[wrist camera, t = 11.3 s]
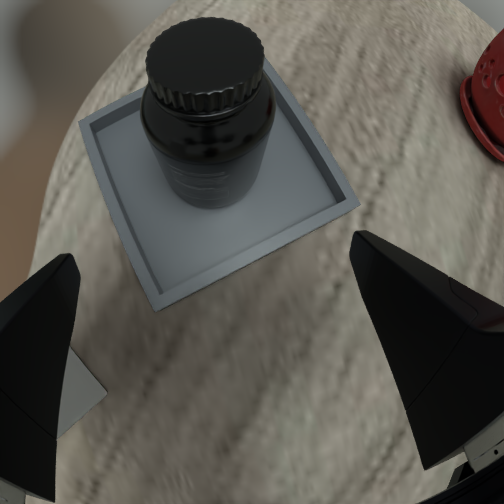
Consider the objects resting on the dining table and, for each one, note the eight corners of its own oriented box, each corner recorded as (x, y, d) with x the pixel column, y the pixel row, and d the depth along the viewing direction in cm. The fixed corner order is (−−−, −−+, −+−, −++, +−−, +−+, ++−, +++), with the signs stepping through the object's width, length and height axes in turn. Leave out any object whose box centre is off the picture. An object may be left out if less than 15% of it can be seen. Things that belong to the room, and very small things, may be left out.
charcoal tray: (161, 309, 21) (154, 312, 19) (87, 134, 22) (78, 121, 20) (349, 211, 23) (360, 204, 21) (253, 61, 24) (256, 45, 22)
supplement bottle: (277, 161, 23) (325, 53, 11) (215, 229, 22) (209, 159, 10) (208, 109, 23) (204, -12, 11) (146, 170, 22) (88, 69, 10)
